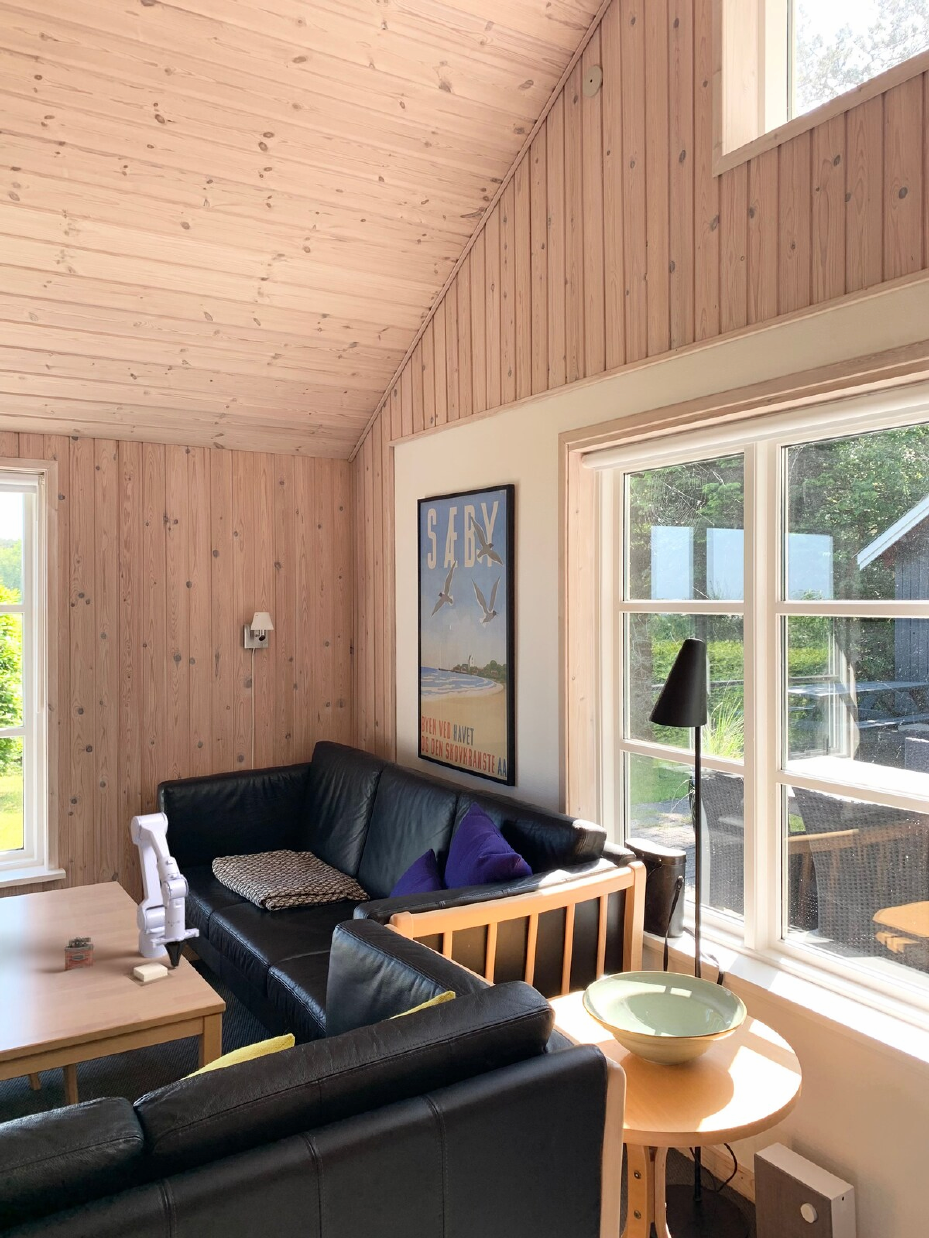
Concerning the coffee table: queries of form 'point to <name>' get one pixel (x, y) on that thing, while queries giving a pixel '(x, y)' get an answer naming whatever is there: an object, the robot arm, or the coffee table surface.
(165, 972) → the cream flat block
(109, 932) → the coffee table surface
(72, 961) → the lighter
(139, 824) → the robot arm
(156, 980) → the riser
